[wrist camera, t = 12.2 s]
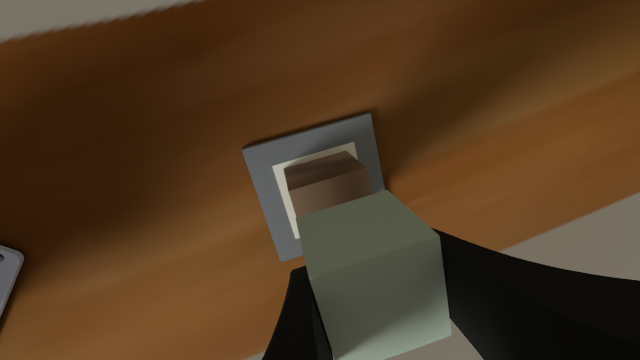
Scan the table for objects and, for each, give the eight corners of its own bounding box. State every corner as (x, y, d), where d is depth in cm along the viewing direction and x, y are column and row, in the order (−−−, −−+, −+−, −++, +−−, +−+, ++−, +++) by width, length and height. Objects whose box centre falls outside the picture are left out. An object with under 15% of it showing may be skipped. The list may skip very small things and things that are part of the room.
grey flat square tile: (280, 257, 21) (281, 262, 20) (242, 148, 18) (241, 150, 17) (388, 222, 21) (392, 227, 21) (367, 112, 19) (371, 113, 18)
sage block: (319, 294, 14) (339, 375, 10) (295, 218, 12) (309, 278, 8) (401, 267, 14) (451, 335, 10) (387, 189, 12) (439, 235, 9)
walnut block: (300, 225, 19) (309, 259, 16) (283, 168, 18) (288, 191, 14) (358, 207, 20) (380, 236, 16) (345, 150, 18) (366, 167, 15)
